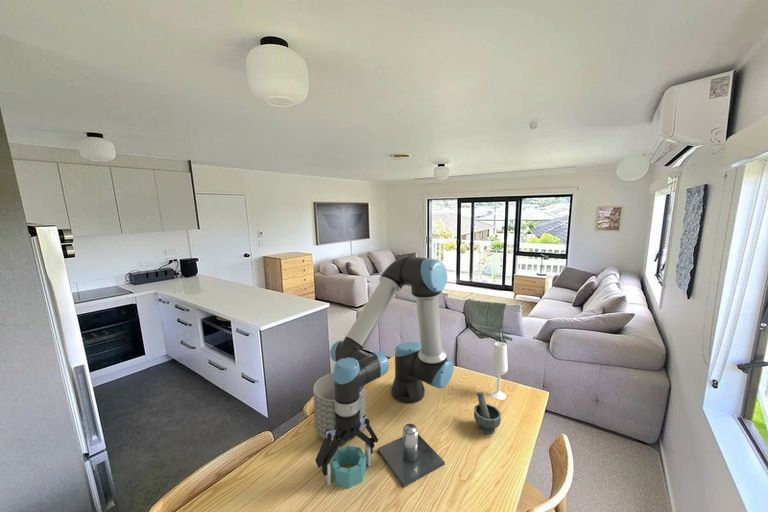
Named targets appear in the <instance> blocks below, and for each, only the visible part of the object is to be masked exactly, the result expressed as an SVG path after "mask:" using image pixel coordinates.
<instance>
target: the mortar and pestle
mask: <svg viewBox="0 0 768 512" xmlns="http://www.w3.org/2000/svg"><path fill="white" fill-rule="evenodd" d="M476 395H477V399H478V404H476V405H475V406H474V409H473V417H474V420H475V422H476V424H477V425H478V430H479V432H480V433H483V434H485V435H493V434H495V432H496V428H498V427H499V426H500V424H501V419H502V411H500V410H499V409H498V408H497V406H493V405H492V404H489V403H487V401H486V398H485V392H484V391H478V392H476Z"/></svg>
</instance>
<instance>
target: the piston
mask: <svg viewBox="0 0 768 512" xmlns="http://www.w3.org/2000/svg"><path fill="white" fill-rule="evenodd" d="M377 452H378V453H379V455H380V456H381V458H382V460H384V462H385V463H386V465H387V466H388V468H389V469H390V470H391V472H392V473H393V474H394V476H395V478H396V479H397V481H398V482H399V483H400V484H401V486H402V487H403V488H405V487H408V486H409V485H411V484H412V483H415V482H417V481H418V480H420V479H421V478H423V477H425V476H427V475H429V474H430V473H432V472H434V471H436V470H437V469H439V468H441V467H443V466H445V463H446V462H445V461H444V460H443V458H442V457H441V456H440V455H439V454H438V453H437V452H436V451H435V450H434V449H433V448H432V447H431V446H430V445H429V444H428V443H427V441H425V440H424V438H423V437H422V436H421V435H420V434H419V429H418V428H417V425H415V424H414V423H405V424H404V426H403V428H402V436H401V437H399V438H397V439H395V440H392V441H389V442H387V443H386V444H384V445H382V446H379V447H377Z"/></svg>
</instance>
